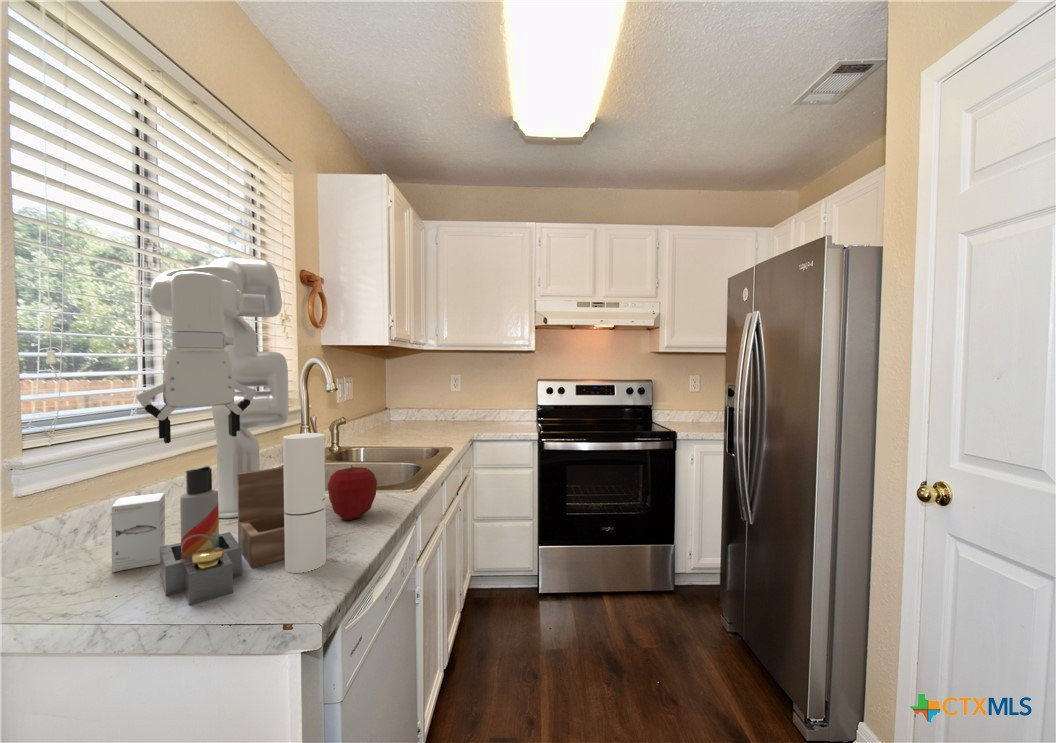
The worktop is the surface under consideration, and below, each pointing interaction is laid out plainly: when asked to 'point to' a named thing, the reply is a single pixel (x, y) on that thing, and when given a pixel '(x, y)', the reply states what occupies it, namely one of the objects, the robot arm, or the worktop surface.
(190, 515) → the lotion bottle
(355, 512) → the apple
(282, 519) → the rack
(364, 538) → the worktop surface
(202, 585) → the socket
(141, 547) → the supplement box
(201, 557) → the pin
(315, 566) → the cylindrical container
